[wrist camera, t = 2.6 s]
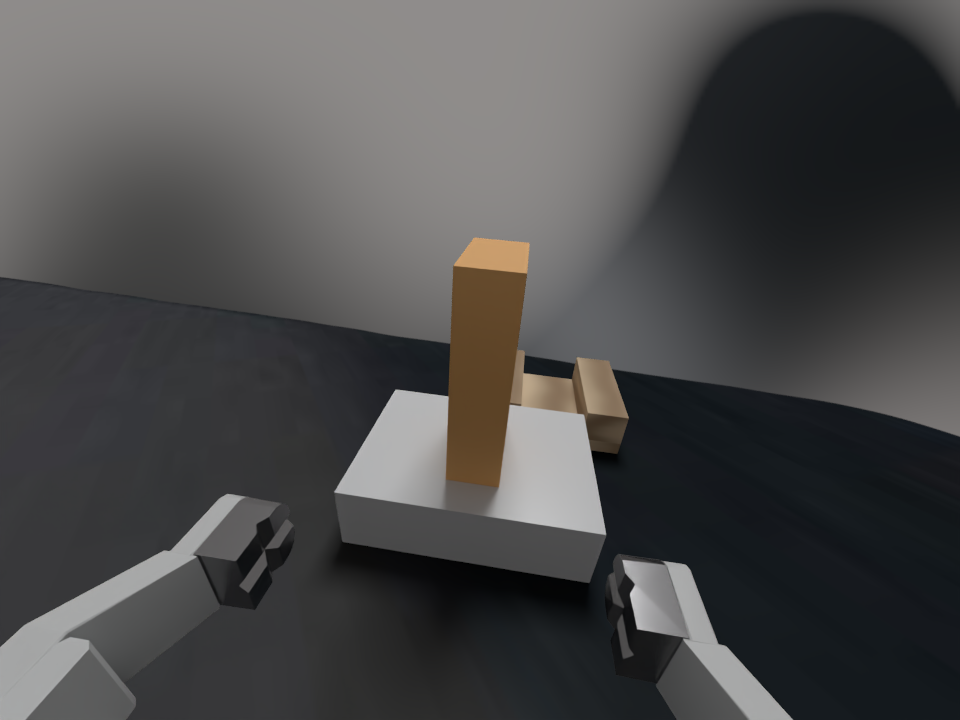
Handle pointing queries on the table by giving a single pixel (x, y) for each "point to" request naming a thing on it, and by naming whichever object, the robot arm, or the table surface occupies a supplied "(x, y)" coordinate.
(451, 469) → the orange rectangular block
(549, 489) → the block
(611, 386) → the rack
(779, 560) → the table surface
